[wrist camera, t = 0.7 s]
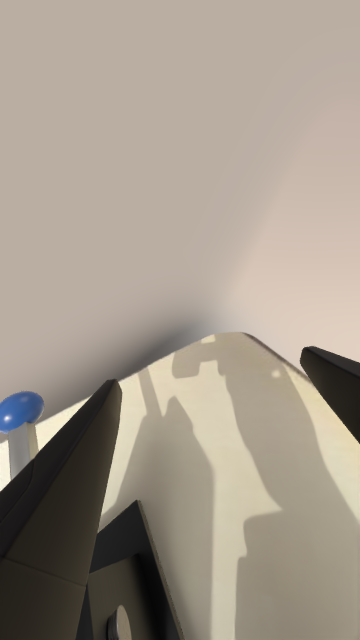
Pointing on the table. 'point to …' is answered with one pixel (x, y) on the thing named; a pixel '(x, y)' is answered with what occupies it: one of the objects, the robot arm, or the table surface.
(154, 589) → the black lever base
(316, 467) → the table surface
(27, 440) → the tap lever
